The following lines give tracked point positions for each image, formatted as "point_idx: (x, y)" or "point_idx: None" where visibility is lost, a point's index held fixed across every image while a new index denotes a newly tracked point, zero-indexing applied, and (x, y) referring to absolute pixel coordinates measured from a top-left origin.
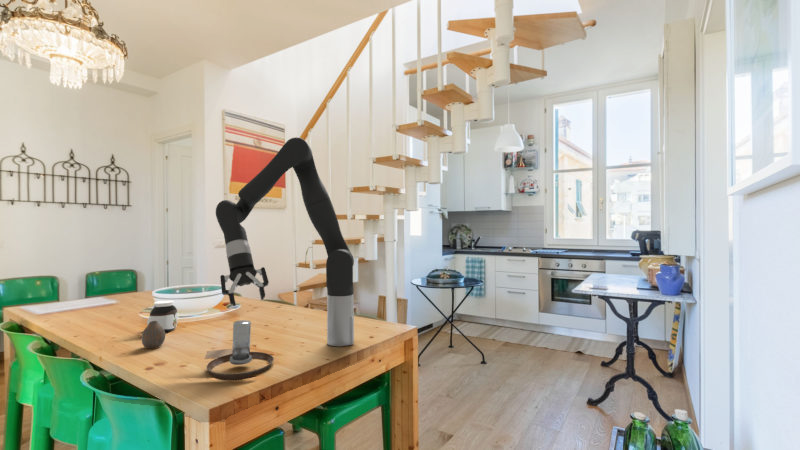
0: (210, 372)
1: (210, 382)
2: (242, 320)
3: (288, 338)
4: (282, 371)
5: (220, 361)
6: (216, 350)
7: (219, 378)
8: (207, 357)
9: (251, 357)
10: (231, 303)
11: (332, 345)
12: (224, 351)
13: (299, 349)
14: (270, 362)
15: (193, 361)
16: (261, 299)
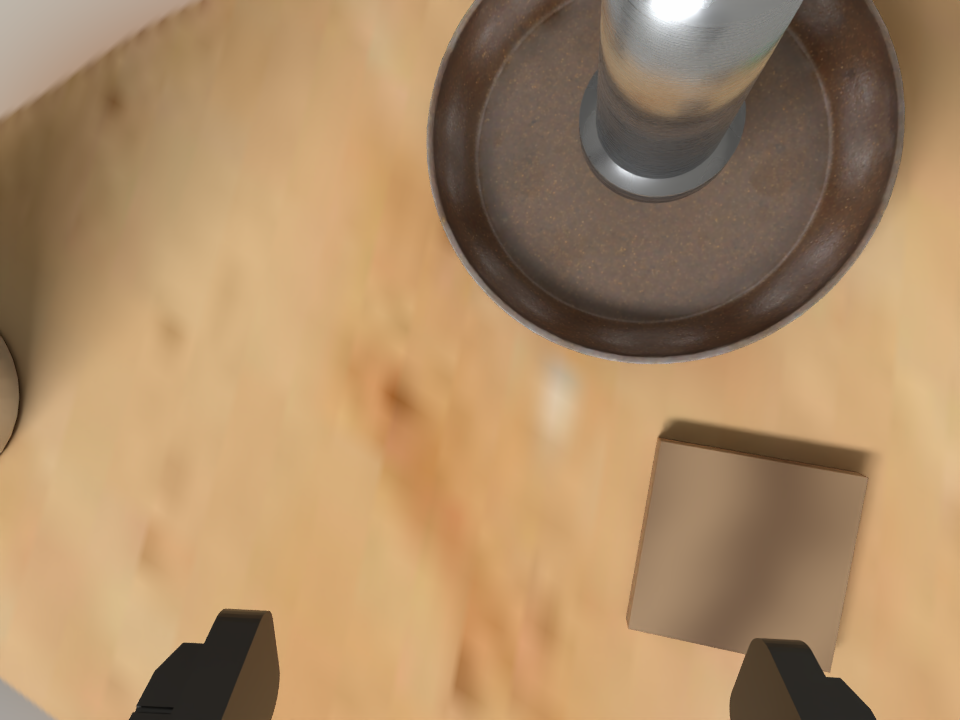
0: (877, 47)
1: None
2: (702, 13)
3: None
4: (413, 7)
5: (773, 303)
6: None
7: (804, 25)
8: (843, 500)
9: (586, 87)
10: (836, 685)
11: (2, 343)
12: (705, 585)
13: (210, 401)
14: (455, 126)
15: (929, 537)
16: (274, 644)
